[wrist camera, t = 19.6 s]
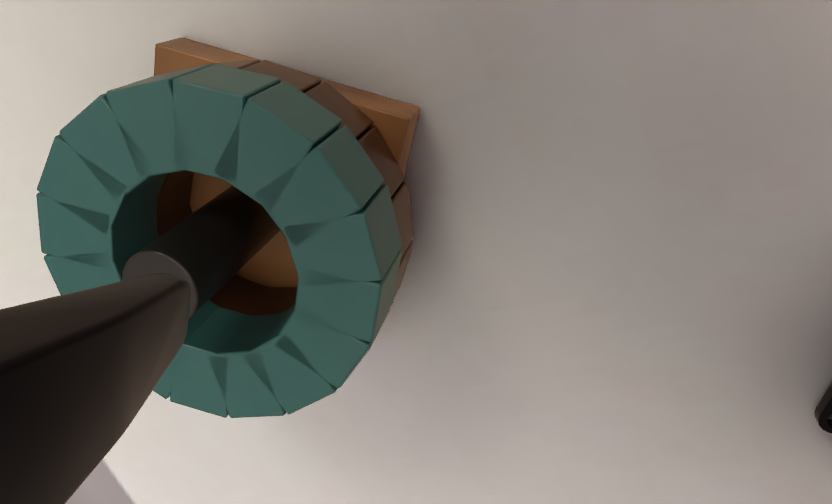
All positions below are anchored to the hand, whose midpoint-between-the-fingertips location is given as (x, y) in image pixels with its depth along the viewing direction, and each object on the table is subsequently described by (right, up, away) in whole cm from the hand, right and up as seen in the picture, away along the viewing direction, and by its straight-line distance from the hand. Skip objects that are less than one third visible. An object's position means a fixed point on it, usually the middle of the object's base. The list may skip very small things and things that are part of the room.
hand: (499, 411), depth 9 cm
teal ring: (-6, +3, +11) cm, 13 cm away
